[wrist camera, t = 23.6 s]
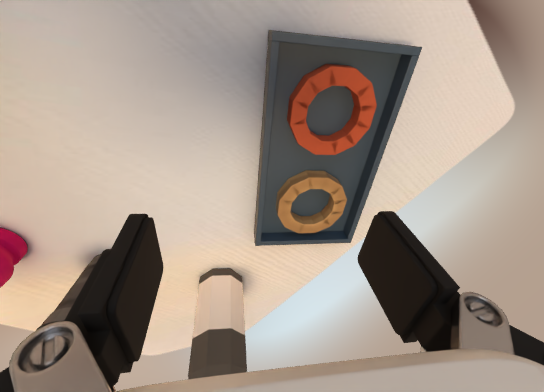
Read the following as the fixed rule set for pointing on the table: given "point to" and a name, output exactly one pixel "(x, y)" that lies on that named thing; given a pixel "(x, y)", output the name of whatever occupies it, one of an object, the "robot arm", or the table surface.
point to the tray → (324, 129)
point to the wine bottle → (218, 326)
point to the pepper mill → (10, 253)
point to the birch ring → (301, 185)
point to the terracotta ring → (316, 84)
